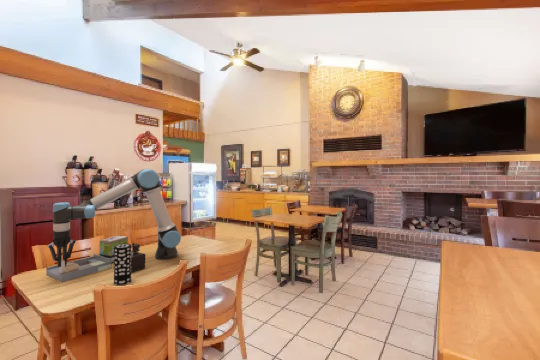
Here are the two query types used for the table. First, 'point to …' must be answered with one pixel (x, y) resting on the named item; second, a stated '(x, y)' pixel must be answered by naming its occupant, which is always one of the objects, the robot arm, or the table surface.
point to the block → (71, 267)
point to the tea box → (111, 246)
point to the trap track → (81, 268)
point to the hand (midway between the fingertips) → (62, 271)
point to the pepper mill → (137, 259)
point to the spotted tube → (122, 264)
